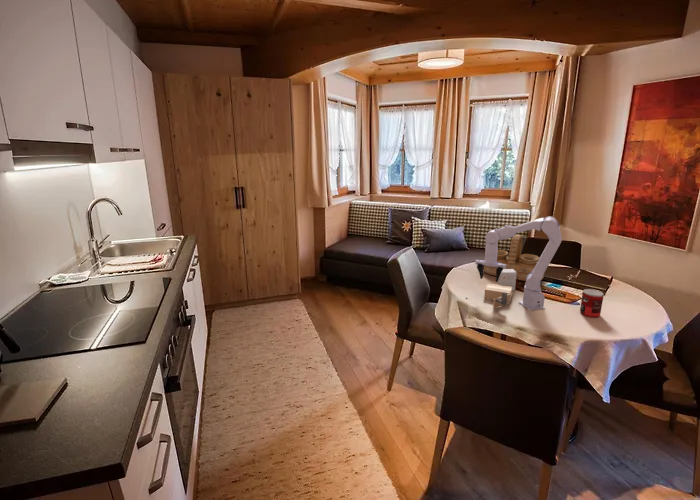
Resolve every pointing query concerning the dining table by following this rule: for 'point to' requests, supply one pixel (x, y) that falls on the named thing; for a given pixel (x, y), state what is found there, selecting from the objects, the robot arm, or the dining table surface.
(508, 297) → the tan cardboard box
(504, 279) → the small box
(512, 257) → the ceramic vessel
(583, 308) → the canned food
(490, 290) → the carton
